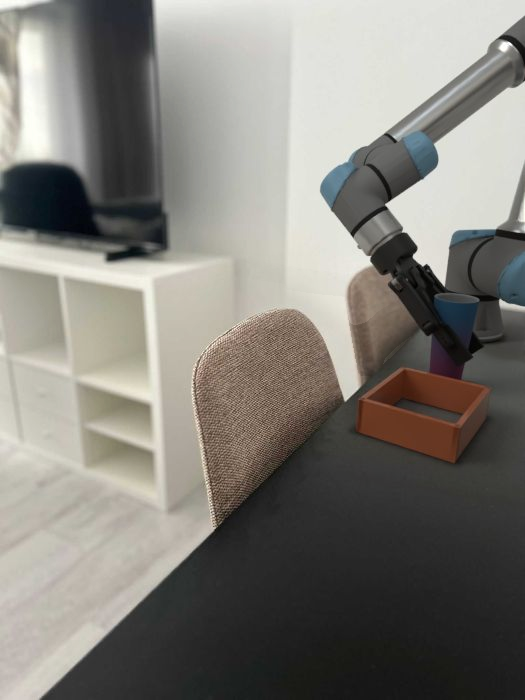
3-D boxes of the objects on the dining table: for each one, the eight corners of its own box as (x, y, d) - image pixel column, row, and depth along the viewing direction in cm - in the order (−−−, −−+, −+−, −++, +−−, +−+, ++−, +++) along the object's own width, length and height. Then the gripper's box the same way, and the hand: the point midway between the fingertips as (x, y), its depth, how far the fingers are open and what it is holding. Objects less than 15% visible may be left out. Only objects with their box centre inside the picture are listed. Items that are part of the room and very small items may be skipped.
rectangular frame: (398, 395, 83) (402, 366, 82) (486, 418, 76) (491, 387, 74) (355, 431, 72) (358, 399, 70) (454, 463, 64) (460, 427, 62)
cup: (468, 381, 88) (482, 296, 83) (461, 395, 83) (475, 305, 78) (428, 373, 91) (439, 291, 86) (418, 386, 86) (430, 299, 81)
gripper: (392, 252, 96) (468, 352, 93) (345, 266, 82) (433, 385, 78) (423, 225, 91) (505, 330, 88) (379, 235, 77) (475, 360, 73)
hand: (471, 356), depth 83 cm, fingers closed on cup, 6 cm apart
